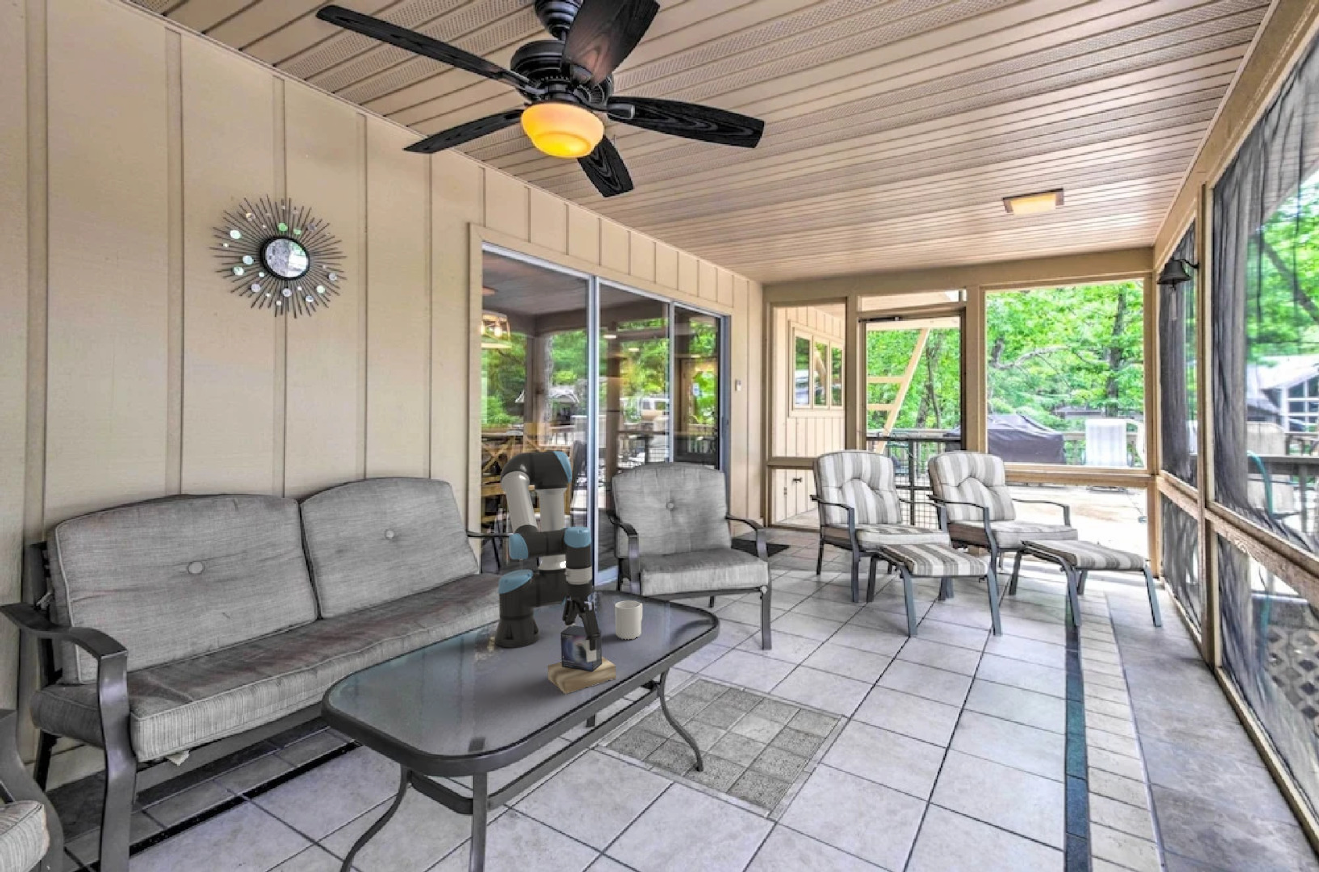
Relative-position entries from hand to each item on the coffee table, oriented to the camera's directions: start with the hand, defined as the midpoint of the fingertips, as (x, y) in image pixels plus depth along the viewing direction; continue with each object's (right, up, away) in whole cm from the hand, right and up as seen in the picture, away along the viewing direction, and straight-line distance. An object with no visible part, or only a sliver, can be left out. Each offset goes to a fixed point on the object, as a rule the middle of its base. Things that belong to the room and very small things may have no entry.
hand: (581, 653), depth 176 cm
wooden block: (0, -8, 0) cm, 8 cm away
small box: (0, -4, 0) cm, 4 cm away
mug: (+13, -6, +35) cm, 38 cm away
